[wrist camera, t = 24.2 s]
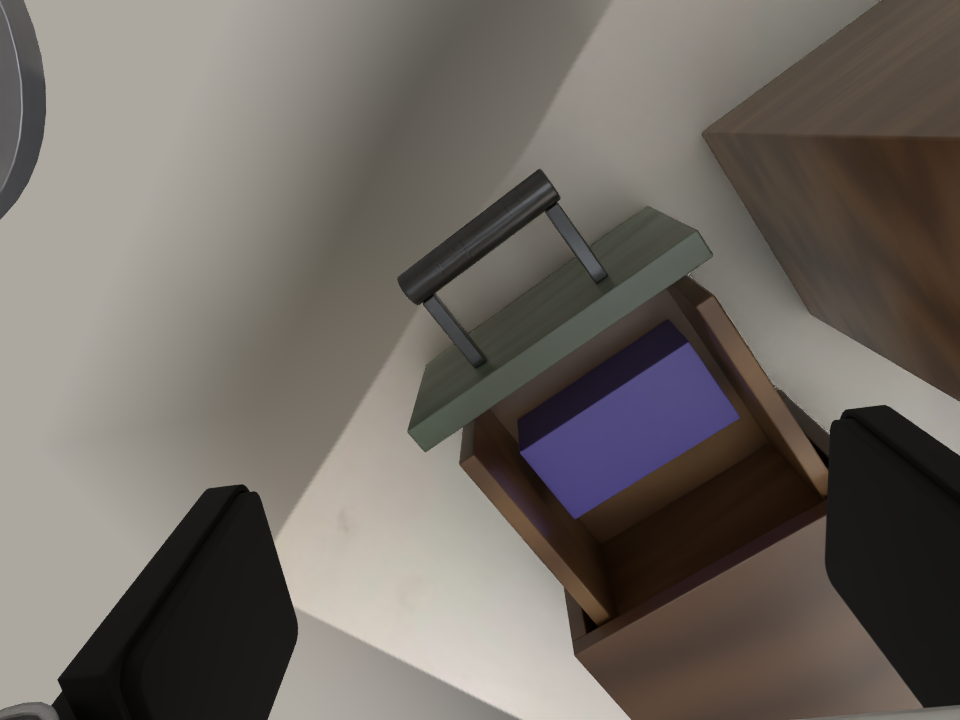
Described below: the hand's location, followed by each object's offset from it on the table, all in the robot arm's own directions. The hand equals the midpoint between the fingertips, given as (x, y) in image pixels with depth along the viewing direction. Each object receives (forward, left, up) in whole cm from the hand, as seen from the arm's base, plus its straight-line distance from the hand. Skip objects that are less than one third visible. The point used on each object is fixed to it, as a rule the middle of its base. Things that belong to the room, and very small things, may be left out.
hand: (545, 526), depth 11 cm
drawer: (+7, 0, -22) cm, 23 cm away
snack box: (+9, 0, -21) cm, 23 cm away
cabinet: (+22, 0, -23) cm, 32 cm away
